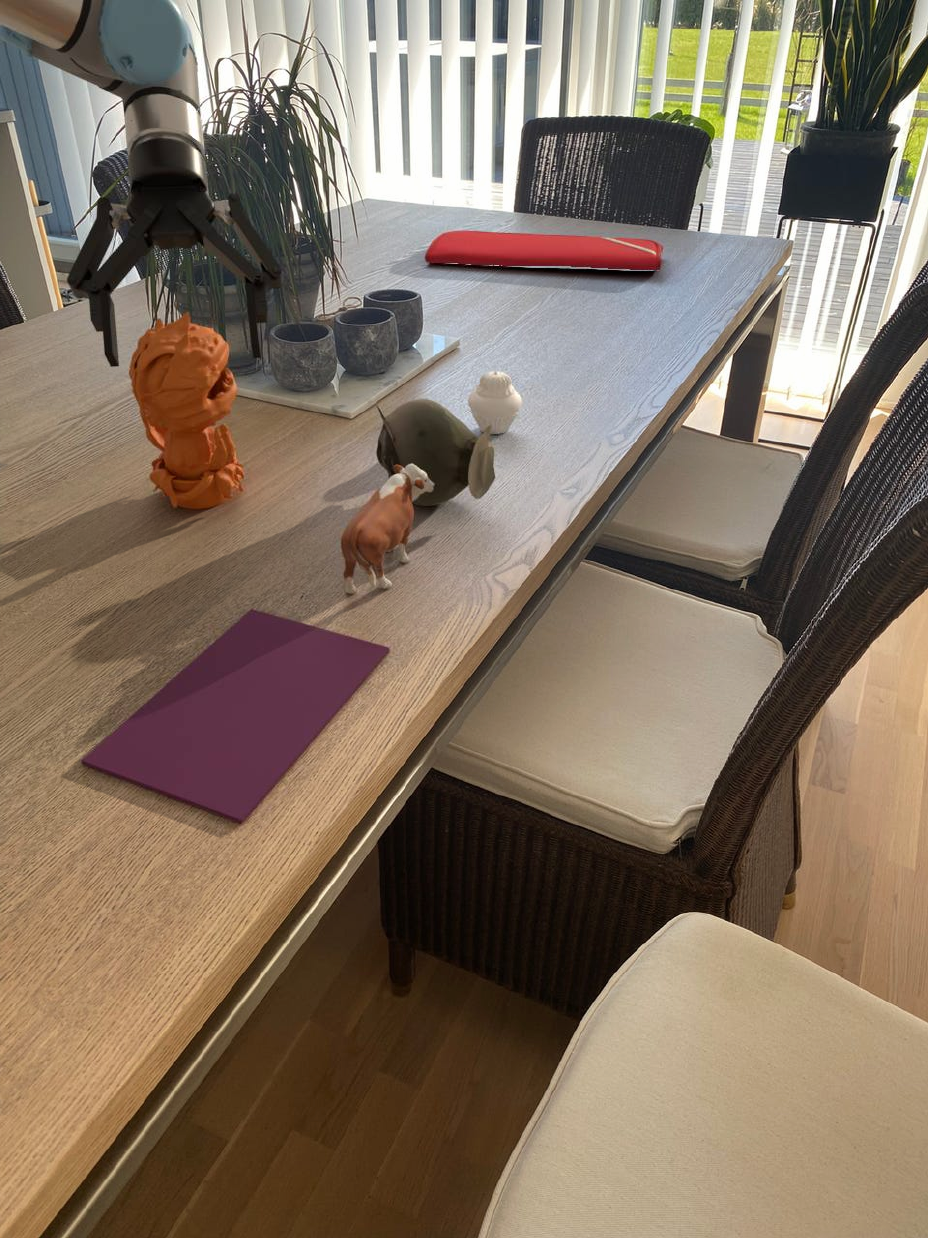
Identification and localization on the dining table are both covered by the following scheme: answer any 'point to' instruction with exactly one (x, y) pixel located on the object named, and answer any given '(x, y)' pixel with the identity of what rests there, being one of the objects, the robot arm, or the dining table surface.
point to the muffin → (494, 402)
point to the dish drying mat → (544, 250)
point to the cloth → (238, 714)
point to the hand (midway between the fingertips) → (184, 356)
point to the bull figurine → (383, 525)
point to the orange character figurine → (187, 412)
